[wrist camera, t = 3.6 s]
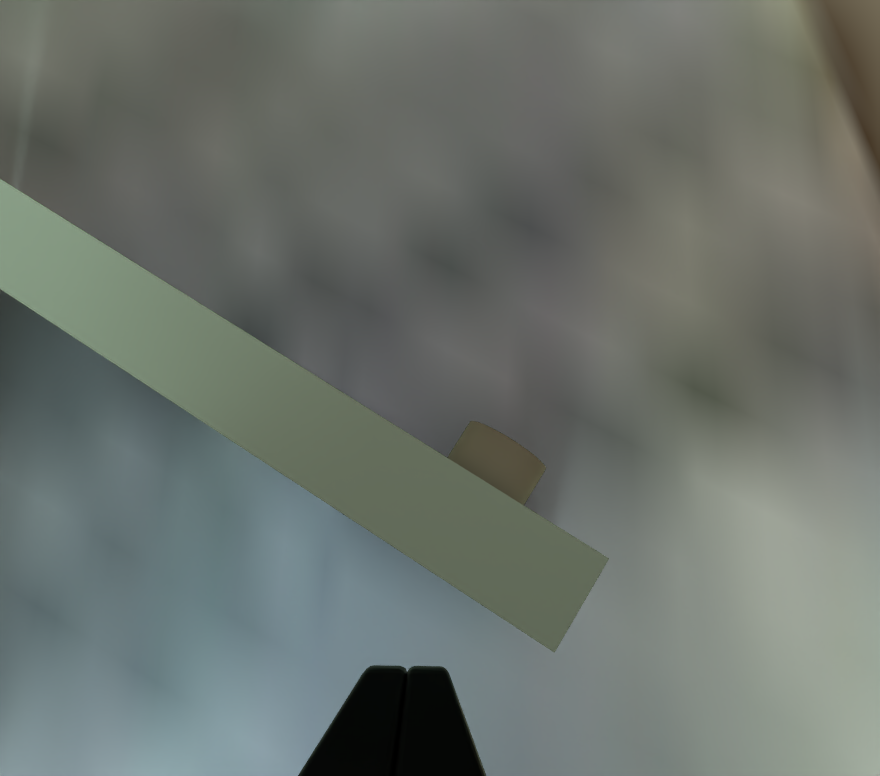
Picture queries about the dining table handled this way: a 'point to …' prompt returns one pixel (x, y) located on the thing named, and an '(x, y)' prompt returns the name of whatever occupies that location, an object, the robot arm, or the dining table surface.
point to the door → (310, 426)
